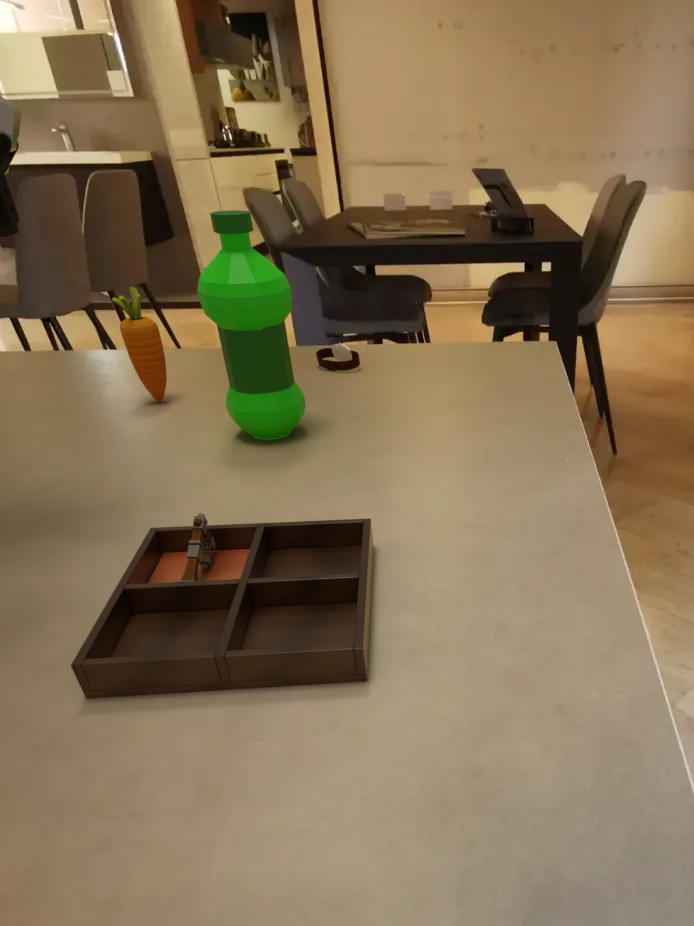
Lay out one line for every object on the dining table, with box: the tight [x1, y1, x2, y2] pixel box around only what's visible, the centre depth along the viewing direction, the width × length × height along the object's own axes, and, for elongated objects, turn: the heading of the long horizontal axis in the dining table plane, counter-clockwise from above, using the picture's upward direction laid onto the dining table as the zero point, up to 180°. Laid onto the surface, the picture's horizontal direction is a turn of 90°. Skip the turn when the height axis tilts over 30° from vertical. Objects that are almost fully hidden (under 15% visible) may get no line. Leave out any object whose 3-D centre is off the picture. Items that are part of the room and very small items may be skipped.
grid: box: [70, 518, 375, 699], centre depth 59 cm, size 20×20×3 cm
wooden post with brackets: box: [175, 512, 216, 582], centre depth 63 cm, size 2×8×4 cm, turn 2°
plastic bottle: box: [196, 209, 307, 441], centre depth 85 cm, size 10×10×25 cm
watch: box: [315, 342, 361, 372], centre depth 115 cm, size 8×5×4 cm, turn 69°
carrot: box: [111, 286, 168, 403], centre depth 98 cm, size 5×5×15 cm
